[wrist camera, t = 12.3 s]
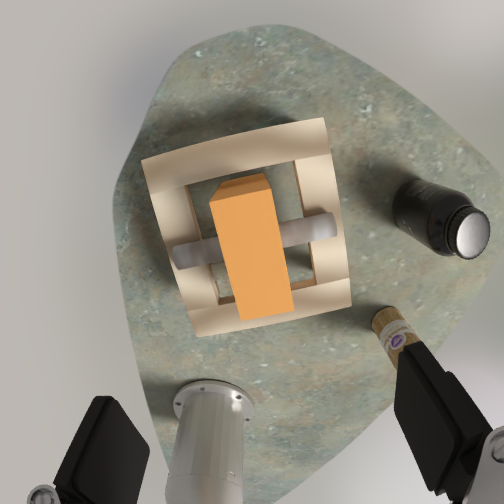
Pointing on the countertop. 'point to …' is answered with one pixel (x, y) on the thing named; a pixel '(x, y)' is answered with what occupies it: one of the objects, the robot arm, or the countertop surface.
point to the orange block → (252, 246)
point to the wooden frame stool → (292, 232)
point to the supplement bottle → (441, 219)
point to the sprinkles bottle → (393, 332)
